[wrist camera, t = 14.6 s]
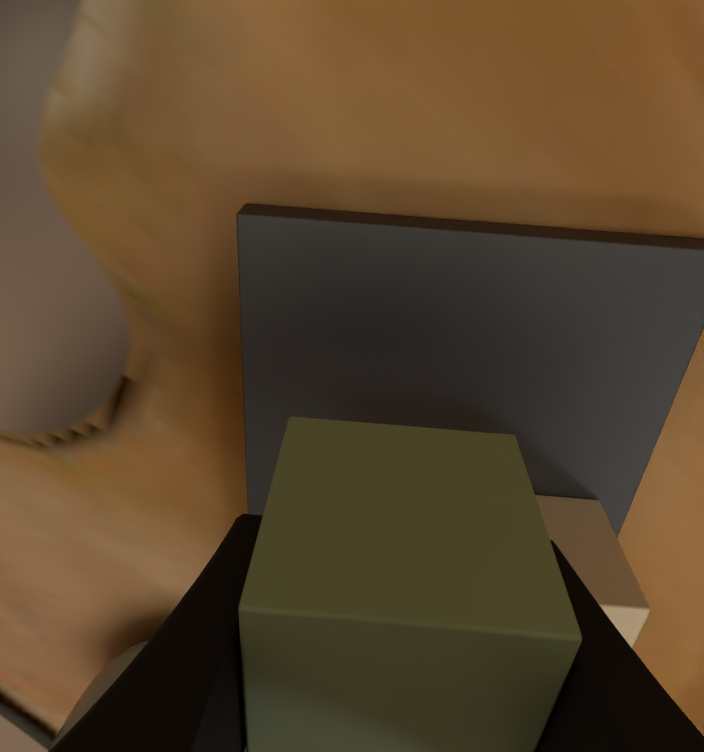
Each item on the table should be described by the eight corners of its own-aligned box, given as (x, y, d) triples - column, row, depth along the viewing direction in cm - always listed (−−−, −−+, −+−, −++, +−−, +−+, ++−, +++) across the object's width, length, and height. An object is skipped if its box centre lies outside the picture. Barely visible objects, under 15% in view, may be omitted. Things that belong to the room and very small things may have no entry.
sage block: (476, 587, 12) (512, 807, 8) (287, 571, 12) (247, 783, 9) (515, 433, 10) (585, 639, 6) (288, 415, 10) (236, 608, 7)
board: (572, 604, 21) (580, 628, 20) (256, 577, 22) (250, 599, 21) (715, 239, 14) (736, 251, 13) (244, 203, 15) (236, 212, 14)
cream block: (567, 587, 19) (606, 702, 16) (450, 576, 20) (464, 690, 16) (599, 498, 17) (652, 610, 14) (469, 488, 18) (490, 595, 14)
